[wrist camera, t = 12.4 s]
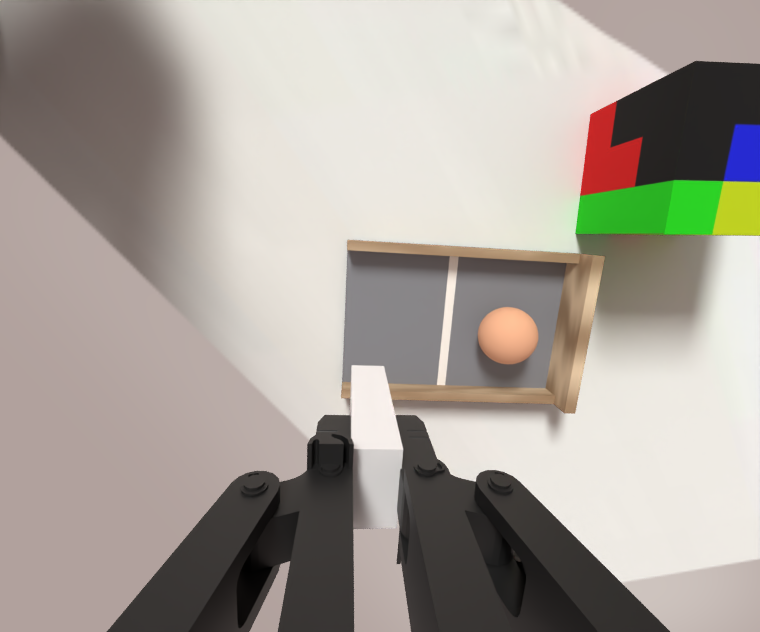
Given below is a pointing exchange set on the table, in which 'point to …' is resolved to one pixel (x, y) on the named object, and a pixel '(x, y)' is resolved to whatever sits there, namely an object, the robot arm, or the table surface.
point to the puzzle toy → (677, 156)
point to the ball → (508, 335)
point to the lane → (445, 316)
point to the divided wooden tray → (567, 339)
